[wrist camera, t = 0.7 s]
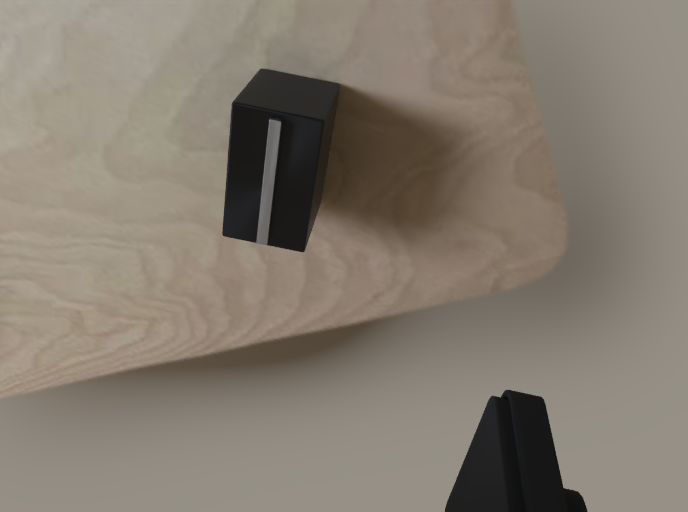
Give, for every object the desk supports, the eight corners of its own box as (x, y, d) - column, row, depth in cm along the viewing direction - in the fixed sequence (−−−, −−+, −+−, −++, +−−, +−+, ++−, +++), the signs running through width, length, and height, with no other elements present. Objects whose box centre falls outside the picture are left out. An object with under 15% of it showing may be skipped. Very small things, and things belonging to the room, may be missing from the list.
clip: (260, 67, 24) (228, 105, 20) (340, 83, 24) (323, 124, 20) (248, 188, 27) (219, 240, 23) (321, 202, 27) (302, 257, 23)
